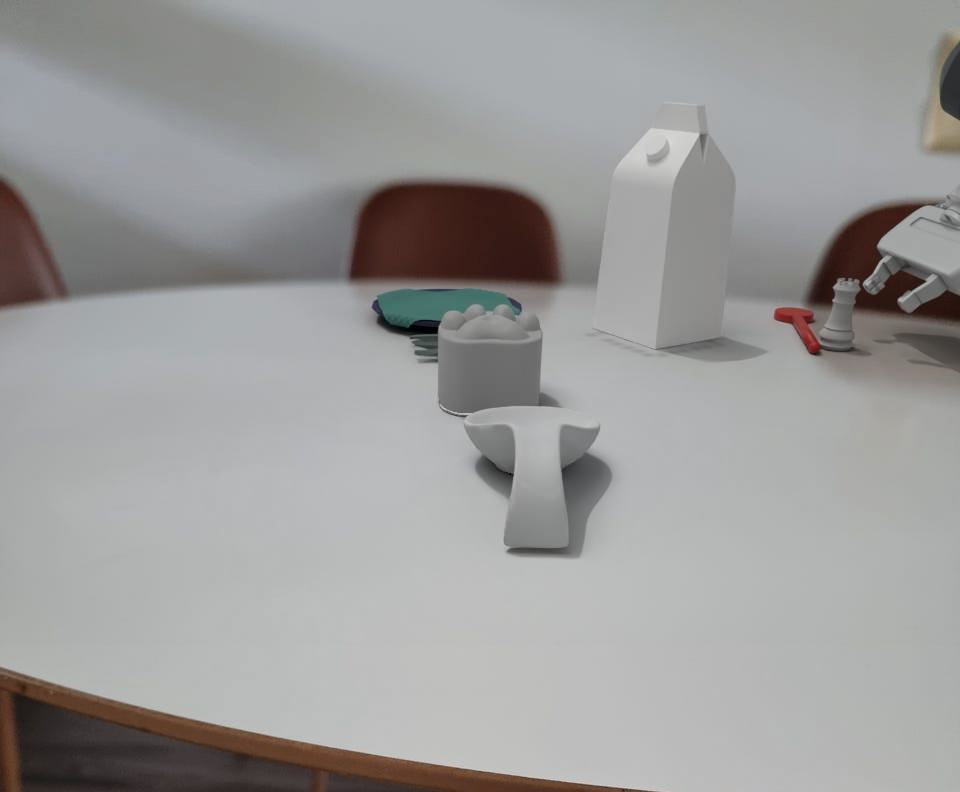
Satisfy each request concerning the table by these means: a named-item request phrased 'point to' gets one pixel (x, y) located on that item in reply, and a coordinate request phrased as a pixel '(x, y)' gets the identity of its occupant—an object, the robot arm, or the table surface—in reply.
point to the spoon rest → (533, 465)
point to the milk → (667, 235)
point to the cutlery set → (434, 309)
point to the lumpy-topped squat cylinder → (488, 359)
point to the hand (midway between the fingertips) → (884, 298)
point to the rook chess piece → (840, 317)
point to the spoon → (800, 324)
